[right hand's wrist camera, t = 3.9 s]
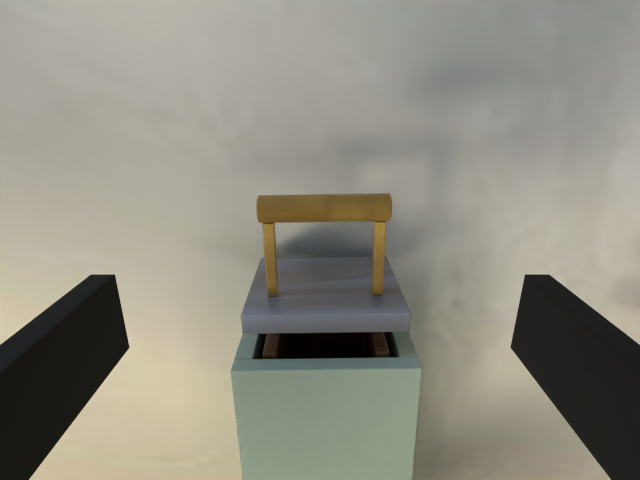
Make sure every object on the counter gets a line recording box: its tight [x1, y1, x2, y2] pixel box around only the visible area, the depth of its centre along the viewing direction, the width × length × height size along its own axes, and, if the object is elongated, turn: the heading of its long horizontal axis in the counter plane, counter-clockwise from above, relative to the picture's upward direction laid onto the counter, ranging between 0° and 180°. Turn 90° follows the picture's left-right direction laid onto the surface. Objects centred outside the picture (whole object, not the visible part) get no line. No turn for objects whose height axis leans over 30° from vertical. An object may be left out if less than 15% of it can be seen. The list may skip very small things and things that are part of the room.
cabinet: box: [231, 332, 422, 480], centre depth 29 cm, size 22×10×10 cm, turn 1°
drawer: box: [241, 194, 410, 359], centre depth 27 cm, size 26×9×8 cm, turn 1°
